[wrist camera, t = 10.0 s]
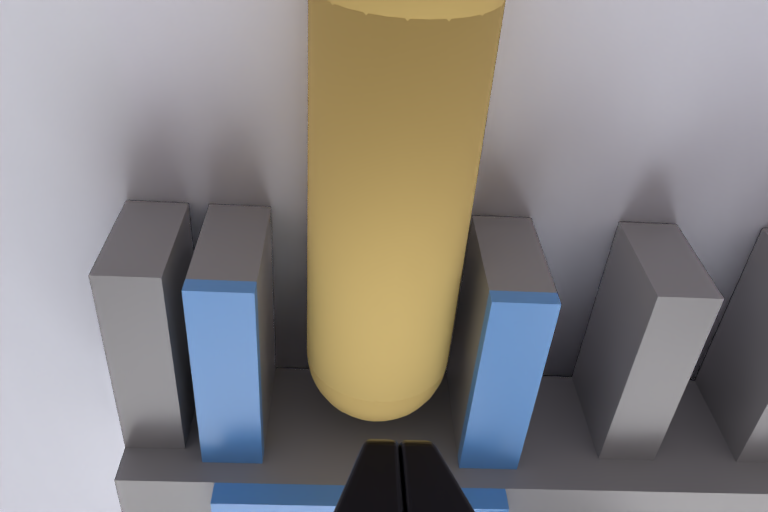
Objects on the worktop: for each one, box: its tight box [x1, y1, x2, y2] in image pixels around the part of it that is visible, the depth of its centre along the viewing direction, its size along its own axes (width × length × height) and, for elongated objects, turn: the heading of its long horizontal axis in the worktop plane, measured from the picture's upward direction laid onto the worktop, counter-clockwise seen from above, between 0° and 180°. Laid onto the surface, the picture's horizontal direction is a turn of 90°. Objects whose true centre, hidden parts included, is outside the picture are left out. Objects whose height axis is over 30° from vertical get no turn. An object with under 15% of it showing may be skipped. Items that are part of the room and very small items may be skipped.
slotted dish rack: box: [89, 200, 768, 512], centre depth 19 cm, size 8×25×5 cm, turn 86°
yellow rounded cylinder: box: [307, 0, 505, 421], centre depth 16 cm, size 13×4×4 cm, turn 176°
